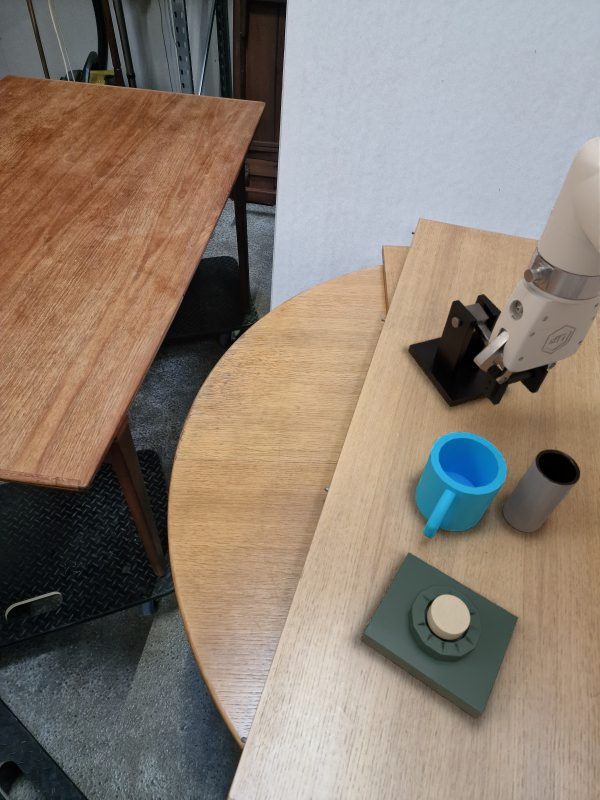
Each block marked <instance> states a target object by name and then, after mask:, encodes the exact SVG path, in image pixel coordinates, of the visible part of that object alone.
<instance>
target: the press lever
mask: <svg viewBox="0 0 600 800" xmlns="http://www.w3.org/2000/svg"><path fill="white" fill-rule="evenodd" d="M464 306H465V307H466V308H467V309H468V310H469V311H470V312H471V314H472V315H473V316H474V317H475V318H476V319H477V323H476V325H475V328H474V330H473V332H474V331H476V332H477V333H478V335H479V336H480V337H481V339H482V340H483V342H484V343H485V345H486V346H488V345H489V340H490V337H491V334H492V333H491V332H490V330H489V329H488V327H487V326H486V325H485V324H486V323H487V321H488V320H489V316H488V315H487V314H486V312H485V311H484V309H483V308H482V307H481V305H480V304H479V303H476V304H475V303H471V304H468V305H467V304H466V305H464ZM498 366H499V368H500V369H501V370H503V369H504V367H505V366H504V364H503V360H501V361H500V362H499V364H498ZM534 376H535V370H534V369H533V368H532V369H528V370H524V371H519V372H512V374H511V375H510V376H509V378H508V379H507V381H508V382H509V385H512V384H515V383H518V382H521V381H523V380H526V379H529V378H533V377H534Z"/></svg>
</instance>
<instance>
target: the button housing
mask: <svg viewBox="0 0 600 800" xmlns="http://www.w3.org/2000/svg"><path fill="white" fill-rule="evenodd" d="M391 581H392V582H391V583H390V585H389V587H388V588H387V590H386V592H385V594H384V596H383V597H382V599H381V600H380V603H379V604H378V607H377V608H376V610H375V611H374V613H373V615H372V617H371V618H370V621H369V622H368V624H367V626H366V627H365V629H364V631H363V633H362V635H361V638H360V641H361V642H363V643H364V644H366V645H367V646H368V647H370V648H372V649H373V650H375V651H376V652H377V653H379V654H381V655H382V656H383V657H385V658H386V659H388V660H390V661H391V662H392V663H393V664H394V665H396V666H398V667H399V668H400V669H402V670H404V671H405V672H407V673H408V674H409V675H411V676H413V677H414V678H415V679H416V680H418V681H420V682H421V683H423V684H424V685H426V687H429V689H432V690H433V691H434V692H436V693H437V694H438V695H440V696H442V697H443V698H445V699H446V700H447V701H449V702H450V703H452V704H453V705H454V706H456V707H458V708H459V709H461V710H462V711H464V712H465V713H466V714H468V715H470V717H472V718H474V719H477V718H479V717H480V716H481V715H483V714H484V712H485V709H486V707H487V704H488V700H489V698H490V695H491V693H492V690H493V687H494V685H495V681H496V679H497V676H498V674H499V671H500V668H501V665H502V664H503V663H502V662H503V660H504V657H505V655H506V652H507V649H508V646H509V644H510V641H511V639H512V636H513V633H514V631H515V627H516V626H517V622H518V620H519V617H518V615H515V614H513V613H512V612H510V611H508V610H507V609H505V608H504V607H502V606H500V605H499V604H497V603H496V602H493V601H491V600H490V599H489V598H486V597H485V596H483V595H481V594H479V593H478V592H477V591H475V590H473V589H471V588H470V587H469V586H467V585H465V584H463V583H461V582H460V581H458V580H456V579H455V578H454V577H451V576H450V575H448V574H446V573H445V572H443V571H442V570H440V569H438V568H436V567H435V566H434V565H432V564H430V563H428V562H426V561H425V560H423V559H421V558H419V557H418V556H416V555H414V554H413V553H412V552H408V553H407V554H406V556H405V558H404V560H403V562H402V563H401V565H400V567H399V569H398V570H397V572H396V574H395V576H394V578H393V579H392V580H391ZM441 595H453V596H455V597H457V598H459V599H460V600H462V601H463V602H464V604H465V605H466V606H467V608H468V610H469V613H470V623H469V626H468V628H467V629H466V630H465V631H464V633H463V634H462V635H461V636H460V637H458V638H457V639H454V640H446V639H443V638H441V637H439V636H437V635H436V634H435V633H434V632H433V631H432V630H431V628H430V626H429V624H428V620H427V613H428V610H429V608H430V606H431V605H432V603H433V601H434V600H435V599H436V598H437V597H439V596H441Z"/></svg>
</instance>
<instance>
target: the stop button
mask: <svg viewBox="0 0 600 800" xmlns="http://www.w3.org/2000/svg"><path fill="white" fill-rule="evenodd" d="M427 620H428V624H429V626H430V628H431V630H432V631H433V632H434V633H435V634H436V635H437V636H439V637H441V638H443V639H446V640H454V639H457V638H458V637H460V636H461V635H462V634H463V633H464V631H465V630H466V629H467V628H468V626H469V623H470V613H469V610H468V608H467V606H466V605H465V604H464V602H463V601H462V600H460V599H459V598H457V597H455V596H453V595H441V596H439V597H437V598H436V599H435V600H434V601H433V603H432V605H431V606H430V608H429V610H428V613H427Z"/></svg>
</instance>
